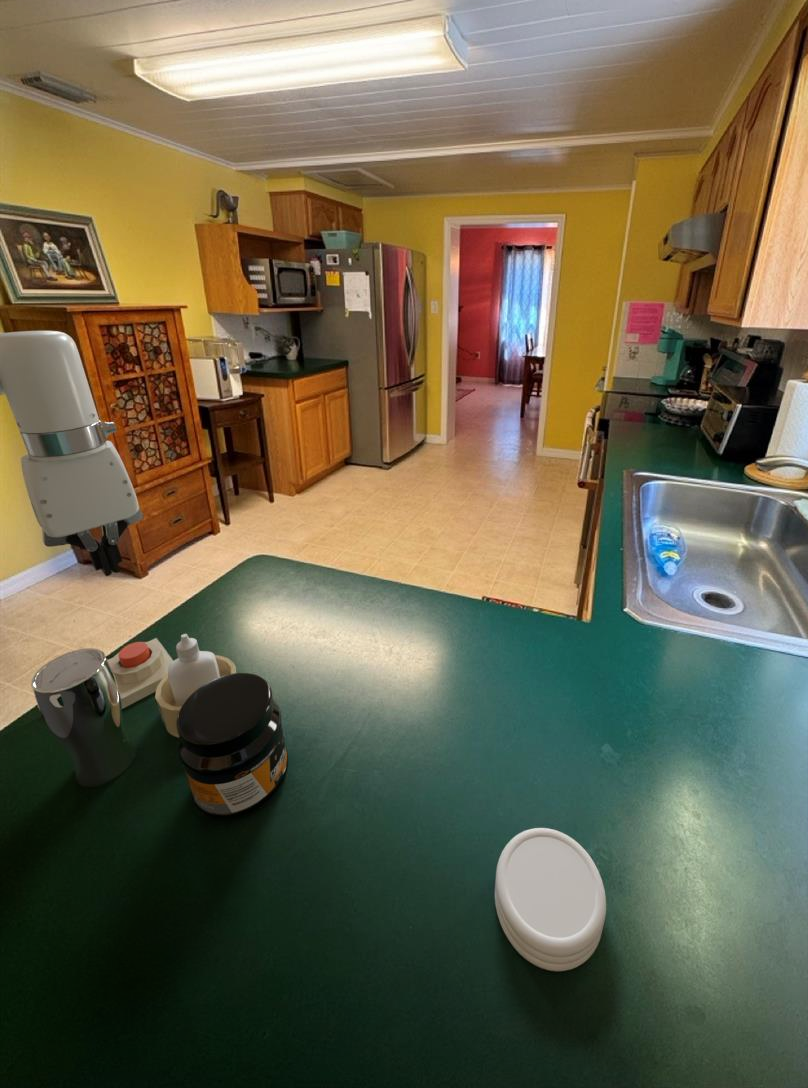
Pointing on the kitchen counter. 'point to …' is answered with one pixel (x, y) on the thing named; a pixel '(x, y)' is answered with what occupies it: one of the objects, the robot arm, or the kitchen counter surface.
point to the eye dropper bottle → (190, 669)
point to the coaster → (550, 899)
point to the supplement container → (232, 745)
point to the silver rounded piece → (85, 714)
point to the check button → (134, 654)
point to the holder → (167, 700)
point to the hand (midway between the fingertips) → (110, 570)
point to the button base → (141, 674)
